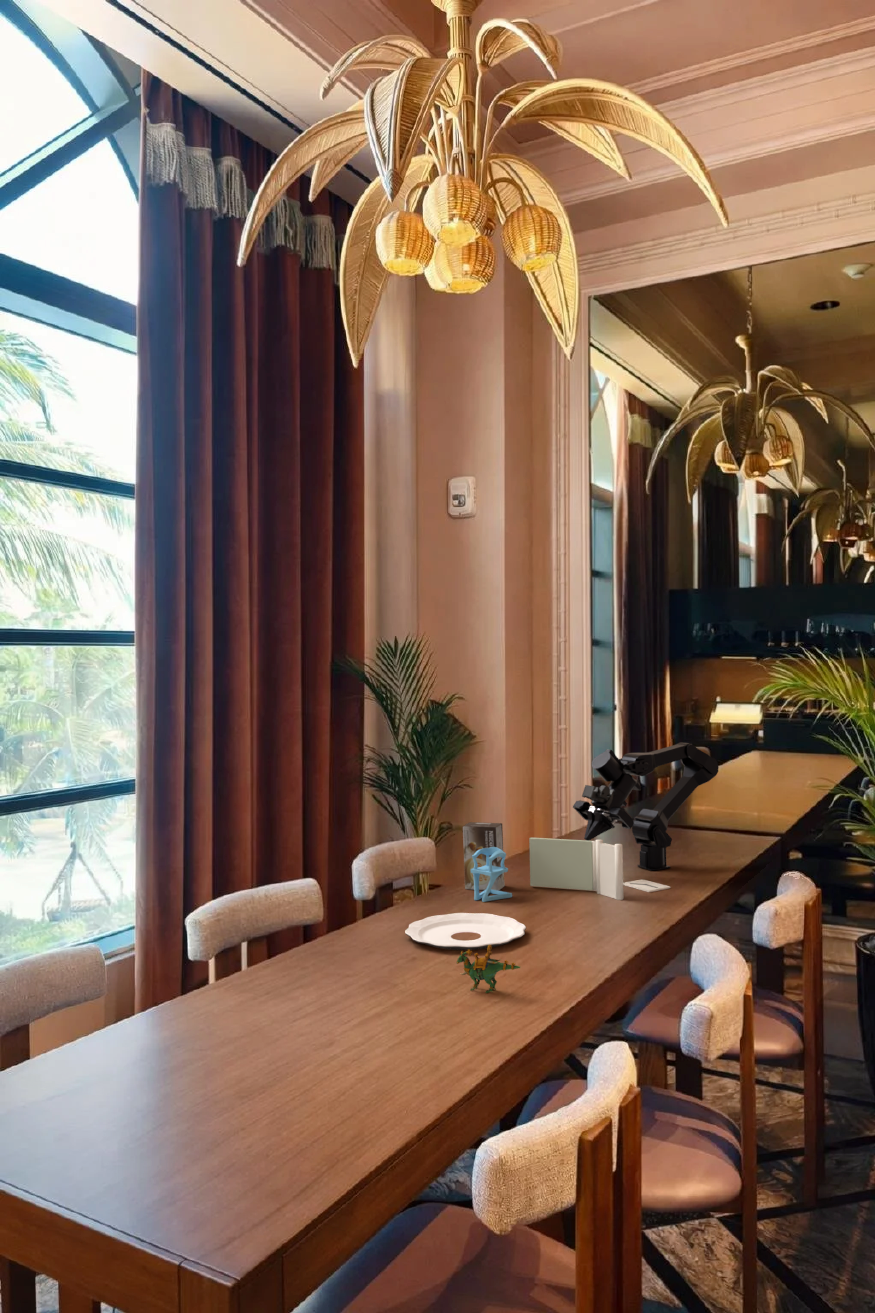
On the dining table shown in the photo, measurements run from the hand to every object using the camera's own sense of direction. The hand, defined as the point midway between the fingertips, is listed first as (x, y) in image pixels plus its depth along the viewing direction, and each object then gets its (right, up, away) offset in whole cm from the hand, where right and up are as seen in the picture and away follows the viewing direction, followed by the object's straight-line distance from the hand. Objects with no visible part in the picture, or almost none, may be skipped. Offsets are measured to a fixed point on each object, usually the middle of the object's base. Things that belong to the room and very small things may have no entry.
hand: (586, 839), depth 256 cm
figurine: (-30, -11, -83) cm, 89 cm away
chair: (-26, -11, -17) cm, 33 cm away
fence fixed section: (+3, -10, -18) cm, 21 cm away
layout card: (+14, -10, -9) cm, 19 cm away
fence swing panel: (-7, -10, -10) cm, 16 cm away
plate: (-33, -12, -49) cm, 60 cm away
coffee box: (-27, -11, -6) cm, 30 cm away
